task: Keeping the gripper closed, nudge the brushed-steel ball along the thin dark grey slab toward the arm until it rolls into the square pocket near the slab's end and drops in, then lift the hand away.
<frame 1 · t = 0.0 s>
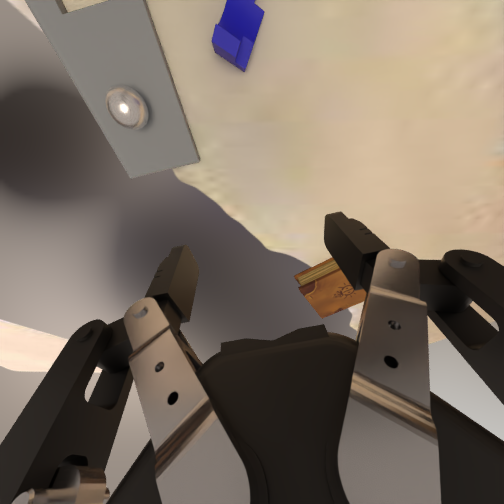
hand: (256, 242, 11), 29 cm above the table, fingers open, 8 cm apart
pocket slab: (119, 64, 26), on the table
steel ball: (128, 108, 26), point 4 cm above the table, touching pocket slab
cable clip: (247, 4, 24), on the table
diary: (339, 275, 58), on the table
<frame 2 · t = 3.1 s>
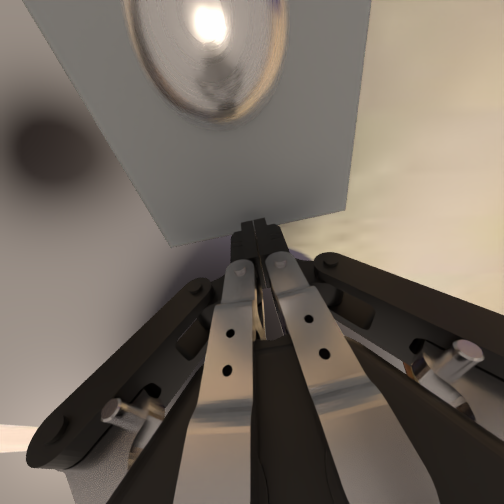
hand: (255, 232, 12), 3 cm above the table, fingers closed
steel ball: (212, 40, 6), point 4 cm above the table, touching pocket slab
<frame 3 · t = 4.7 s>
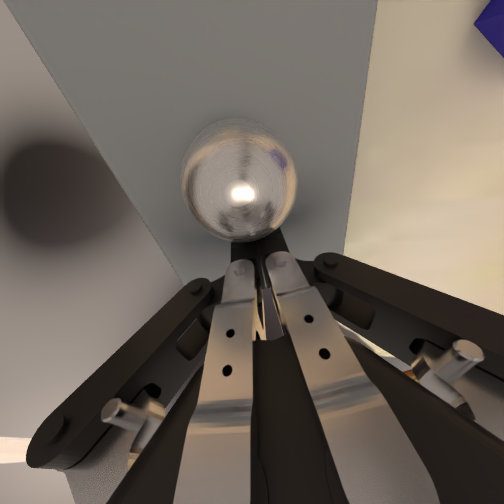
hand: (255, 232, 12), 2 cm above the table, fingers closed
pocket slab: (217, 74, 9), on the table
steel ball: (240, 186, 8), point 4 cm above the table, tilted 14°, touching pocket slab
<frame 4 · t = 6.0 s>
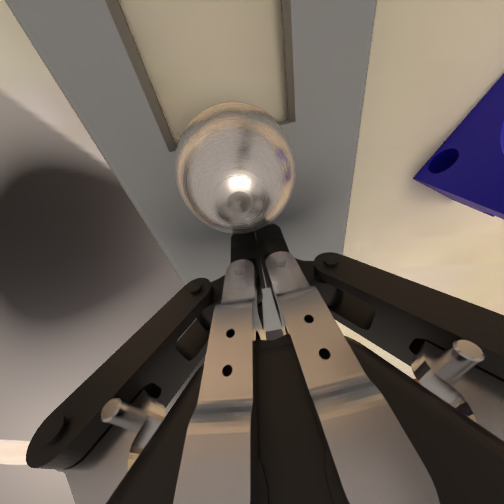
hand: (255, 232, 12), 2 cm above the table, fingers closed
pocket slab: (248, 210, 13), on the table
steel ball: (236, 175, 8), point 4 cm above the table, tilted 176°, touching pocket slab
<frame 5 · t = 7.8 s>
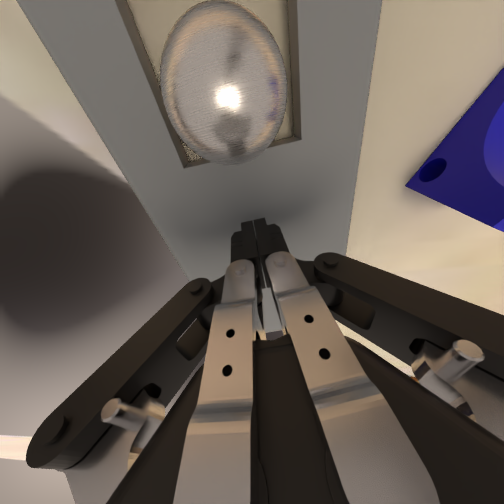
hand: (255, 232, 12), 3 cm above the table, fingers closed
pocket slab: (255, 218, 14), on the table
steel ball: (226, 99, 8), point 2 cm above the table, tilted 87°
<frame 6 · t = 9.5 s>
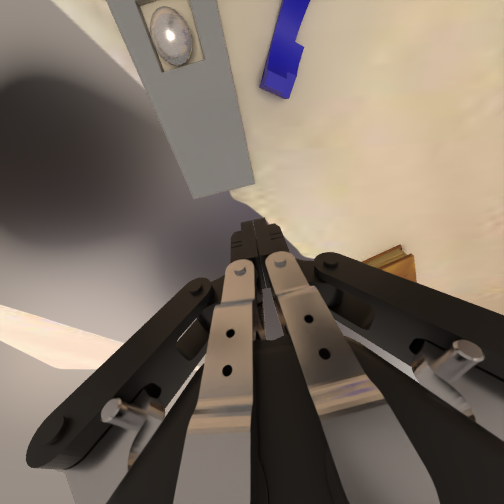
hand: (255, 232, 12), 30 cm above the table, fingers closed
pocket slab: (197, 107, 31), on the table
steel ball: (172, 38, 24), point 2 cm above the table, tilted 82°
cable clip: (287, 42, 27), on the table
diary: (365, 278, 62), on the table
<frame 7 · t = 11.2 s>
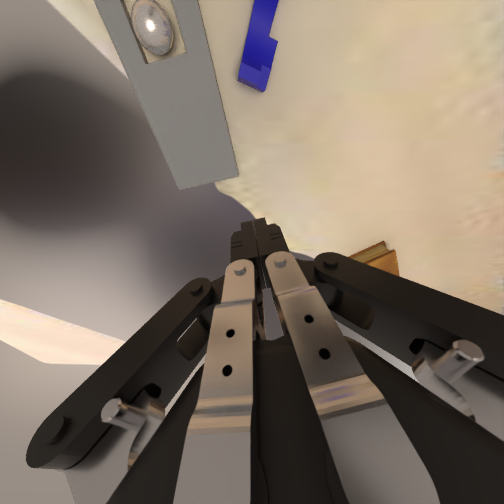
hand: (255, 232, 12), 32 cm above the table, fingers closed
pocket slab: (181, 99, 32), on the table
steel ball: (153, 28, 25), point 2 cm above the table, tilted 76°
cable clip: (262, 37, 29), on the table
diary: (351, 274, 64), on the table
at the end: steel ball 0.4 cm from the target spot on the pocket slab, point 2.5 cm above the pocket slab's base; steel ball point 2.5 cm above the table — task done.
